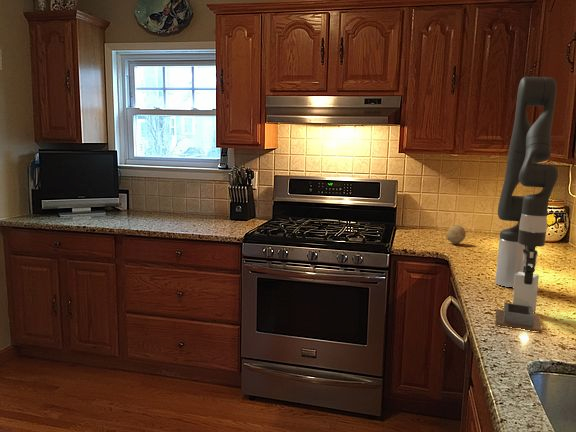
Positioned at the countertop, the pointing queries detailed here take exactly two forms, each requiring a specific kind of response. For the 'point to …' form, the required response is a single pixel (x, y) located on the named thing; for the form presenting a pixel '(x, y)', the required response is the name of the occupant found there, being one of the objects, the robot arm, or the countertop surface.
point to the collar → (518, 317)
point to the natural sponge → (456, 234)
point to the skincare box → (525, 291)
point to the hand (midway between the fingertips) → (527, 280)
